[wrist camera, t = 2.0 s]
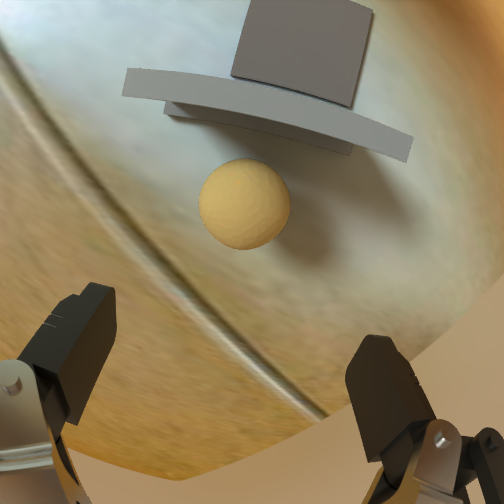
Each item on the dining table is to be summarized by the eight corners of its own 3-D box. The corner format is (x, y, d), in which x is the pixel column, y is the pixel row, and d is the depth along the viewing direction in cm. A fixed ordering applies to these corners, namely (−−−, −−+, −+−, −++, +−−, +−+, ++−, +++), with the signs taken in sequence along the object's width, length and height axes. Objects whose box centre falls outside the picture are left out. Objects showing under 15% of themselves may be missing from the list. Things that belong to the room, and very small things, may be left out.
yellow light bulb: (293, 189, 28) (315, 227, 19) (239, 227, 29) (235, 281, 20) (252, 134, 26) (254, 145, 17) (197, 176, 27) (171, 209, 18)
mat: (258, -23, 18) (258, -25, 18) (371, 10, 20) (372, 9, 19) (230, 75, 23) (230, 75, 23) (348, 106, 24) (350, 106, 24)
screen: (175, 72, 23) (124, 47, 12) (357, 115, 25) (425, 121, 14) (166, 113, 24) (109, 116, 14) (346, 154, 26) (406, 184, 16)
